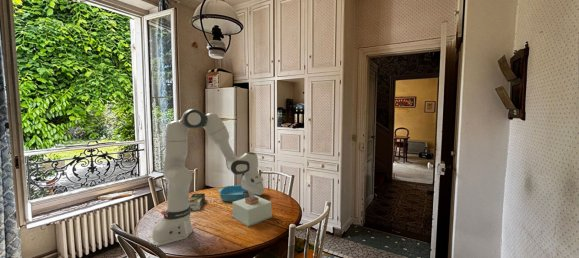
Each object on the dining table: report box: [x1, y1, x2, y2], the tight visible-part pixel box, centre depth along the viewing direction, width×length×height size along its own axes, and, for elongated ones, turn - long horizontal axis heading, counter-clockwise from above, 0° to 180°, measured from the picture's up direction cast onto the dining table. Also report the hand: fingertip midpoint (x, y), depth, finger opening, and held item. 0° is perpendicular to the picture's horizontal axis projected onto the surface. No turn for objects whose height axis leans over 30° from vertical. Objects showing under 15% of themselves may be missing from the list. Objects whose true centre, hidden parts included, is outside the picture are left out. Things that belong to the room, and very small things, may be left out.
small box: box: [243, 190, 259, 199], centre depth 173 cm, size 11×6×10 cm, turn 84°
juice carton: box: [189, 192, 206, 211], centre depth 173 cm, size 20×10×6 cm, turn 10°
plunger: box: [245, 196, 259, 205], centre depth 152 cm, size 6×6×12 cm
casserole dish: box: [217, 184, 265, 202], centre depth 188 cm, size 37×22×7 cm, turn 93°
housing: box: [231, 195, 273, 227], centre depth 152 cm, size 19×19×10 cm
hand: (251, 198), depth 152 cm, fingers closed, pressing on plunger
